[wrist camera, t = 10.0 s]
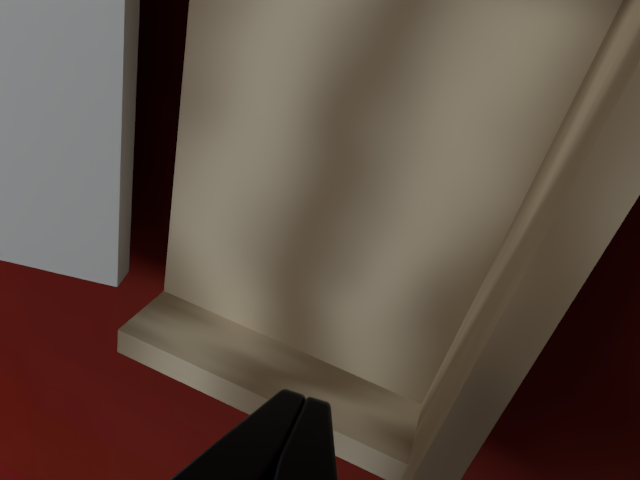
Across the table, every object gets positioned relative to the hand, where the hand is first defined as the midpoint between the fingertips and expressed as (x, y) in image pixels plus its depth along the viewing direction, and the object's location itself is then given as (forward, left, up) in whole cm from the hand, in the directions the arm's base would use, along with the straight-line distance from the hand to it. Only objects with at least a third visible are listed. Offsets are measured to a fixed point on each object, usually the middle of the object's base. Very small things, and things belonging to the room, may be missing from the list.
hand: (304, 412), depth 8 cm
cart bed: (+2, -1, -12) cm, 12 cm away
